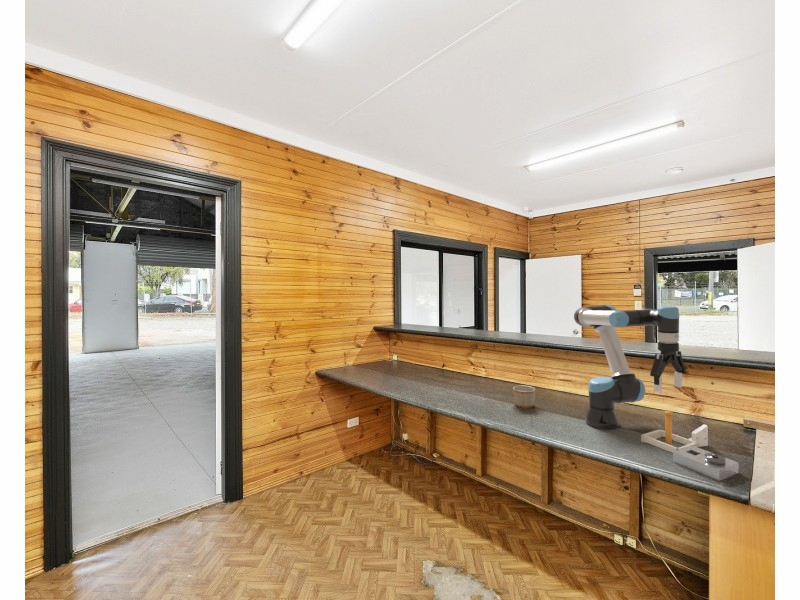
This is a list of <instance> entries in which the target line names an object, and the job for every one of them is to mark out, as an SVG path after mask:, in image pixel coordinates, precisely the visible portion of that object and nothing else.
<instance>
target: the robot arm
mask: <svg viewBox="0 0 800 600" xmlns="http://www.w3.org/2000/svg"><path fill="white" fill-rule="evenodd" d="M679 311H680V310H679V307H677V306H671V305H668V306H667V305H662V306H658V307H657V309H654V308H649V307H647V308H640V309H631V310H630V309H629V310H617V309H616V308H615V307H614V306H613V305H609V304H607V305H606V304H603V305H602V304H601V305H588V306H587V305H586V306H581V307H579V308H578V309H577V310H576V311H575V312H574V314H573V319H574V322H575V323H576V324H577V325H579V326H581V327H585V328H586V327H588V328H589V327H590V328H593V329H594V332H596V333H598V335H599V338H600V341H601V345H602V347H603V350H604V354H605V357H606V359H607V363H608V366H609V369H610V373H611V376H610V377H609V376H597V377H593V378H591V379H590V380H589V381H588V387H587V388H588V409H587V412H586V415H585V423H586V424H587V425H588V424H589V426H590V425H591V426H590V427H593V426H594V427H593V428H596V427H597V429H601V428H602V429H603V430H613V429H617V428H618V427H620V426H619V425H620V424H619V422H620V421H619V418H618V417H617V414H616V410H615V404H625V403H631V404H633V403H637V402H640V401H642V400H643V399H644V397H645V395H646V386H645V384H644V382H643V381H642V380H641V379H640V378H637V377H636V375H635V373H634V372H632V371H631V370H630V367H629V364H628V361H627V358H626V355H625V352H624V349H623V347H622V344H621V340H620V339H619V335H618V333H617V328H627V327H628V328H629V327H630V328H631V327H645V326H646V327H647V326H651V327H653V326H654V327H657V341H658V342H657V350H658V351H660V354H658V353H655V355H654V361H653V363H652V366H651V370H650V374H649V376H651V377H653V384H654V385H653V387H654V388H653V389H654V390H653V391H654V392H656V393H660V394H661V393H662V391H663V390H662V389H663V384H662V383H663V382H662V381H663V379H662V377H661V376H662V374H663V372H664V371H665V368H666V366H668V365H669V364H671V365H672V367H673V369H674V370H675V371H674V374H673V375H674V377H673V379H674V380H673V381H674V387H676V388H680V389H681V388H683V374H685V373H686V369H687V368H686V366H685V362H684V360H683V357H682V351H680V343H679V342H680V312H679Z"/></svg>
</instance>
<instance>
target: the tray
mask: <svg viewBox="0 0 800 600" xmlns="http://www.w3.org/2000/svg"><path fill="white" fill-rule="evenodd" d="M659 438H665V429H664V430H663V429H661V428H659V429H655V430H652V431H649V432H646V433H643V434H641V435H640V441H641V444H643V443H647V444H650V445H652V446H655V447H657V448H660V449H662V450H665V451H667V452H668V453H669V452H670V453H672V454H673V451H676V450H679V449H682V448H685V447H688V446H691V445H692V446H695V447H698V443H697V442H695V441H692V440H689V439H688V438H686V437H684V436H680V435H677V434H675V433H672V441H674V442H676V443H679V444H682V446H680V447H676V446H675V445H669V444H666V442H665V441H664V442H663V441H661V440H659ZM698 448H699V447H698Z"/></svg>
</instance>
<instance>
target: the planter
mask: <svg viewBox="0 0 800 600" xmlns="http://www.w3.org/2000/svg"><path fill="white" fill-rule="evenodd" d="M512 391H513V398H514V405H515V406H516V407H517V406H518V408H520V407H521V409H531V408H533V407H534V405H535V398H536V397H535V396H536V388H535V387H533V386H530V385H525V384H524V385H516V386H513V387H512Z"/></svg>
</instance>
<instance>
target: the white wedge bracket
mask: <svg viewBox="0 0 800 600" xmlns="http://www.w3.org/2000/svg"><path fill="white" fill-rule="evenodd" d="M708 429H709V426H708V425H707V424H704V423H703V424H702V425H701V426H698V427H697V428H696V429H695V430H693V431H691V437H690V438H687V439H689V440H692V441H695V442H697V443H698V448H700V447H708V446H709V445H708V443H709V437H708V435H709V431H708Z"/></svg>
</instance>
